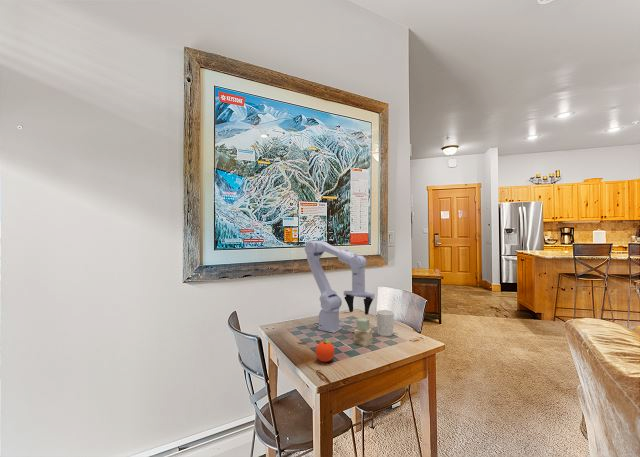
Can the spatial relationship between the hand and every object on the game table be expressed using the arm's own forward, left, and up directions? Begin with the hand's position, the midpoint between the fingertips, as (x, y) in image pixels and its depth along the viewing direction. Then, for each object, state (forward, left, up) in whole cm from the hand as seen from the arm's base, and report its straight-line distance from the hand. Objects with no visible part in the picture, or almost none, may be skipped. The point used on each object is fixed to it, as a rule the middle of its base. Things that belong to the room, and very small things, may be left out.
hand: (358, 312), depth 132 cm
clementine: (+1, -29, -11) cm, 31 cm away
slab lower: (+5, -6, -11) cm, 13 cm away
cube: (+5, -6, -5) cm, 9 cm away
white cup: (+9, +9, -11) cm, 16 cm away
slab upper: (+5, -6, -8) cm, 11 cm away
